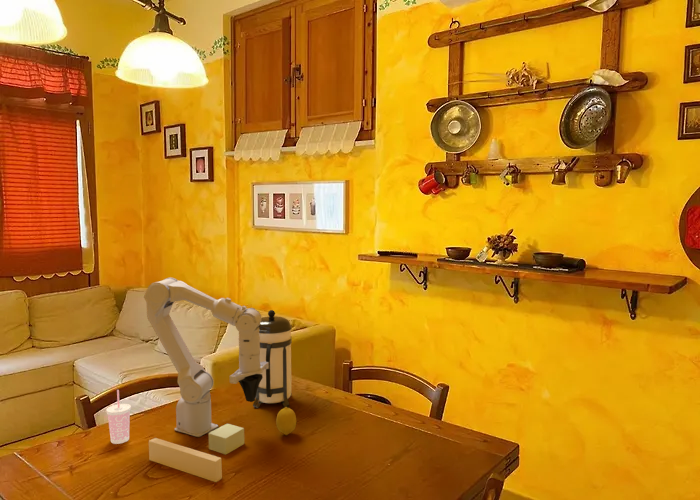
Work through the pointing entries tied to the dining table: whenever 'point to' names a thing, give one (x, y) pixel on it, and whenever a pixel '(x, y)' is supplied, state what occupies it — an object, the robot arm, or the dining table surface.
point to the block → (226, 438)
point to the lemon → (286, 420)
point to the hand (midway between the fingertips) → (250, 400)
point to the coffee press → (275, 360)
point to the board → (185, 459)
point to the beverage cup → (119, 421)
